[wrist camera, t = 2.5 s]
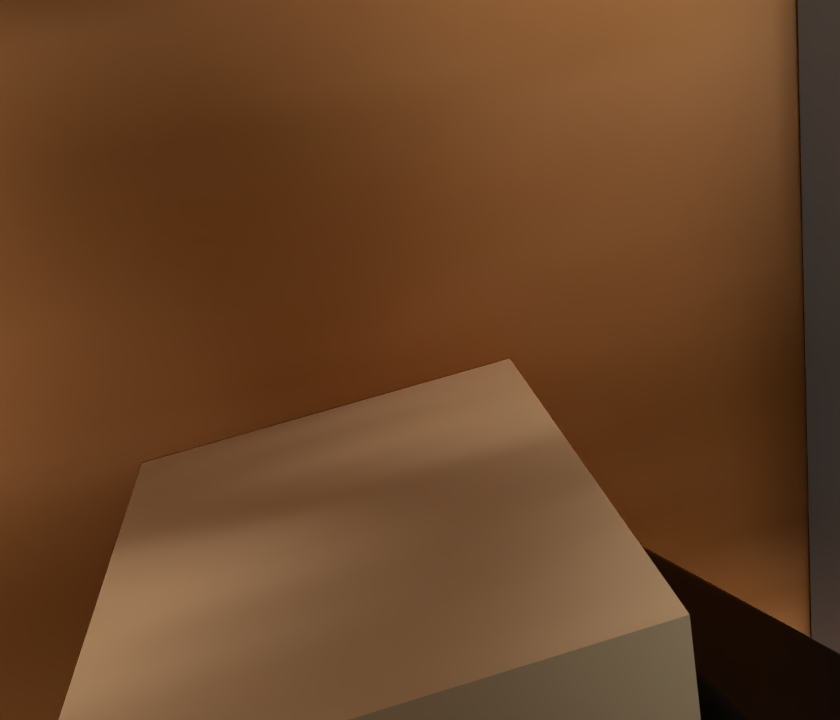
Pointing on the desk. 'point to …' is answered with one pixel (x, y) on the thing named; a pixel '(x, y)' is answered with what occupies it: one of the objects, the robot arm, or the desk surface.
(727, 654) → the robot arm
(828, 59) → the board
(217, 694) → the off-white block
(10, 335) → the desk surface
